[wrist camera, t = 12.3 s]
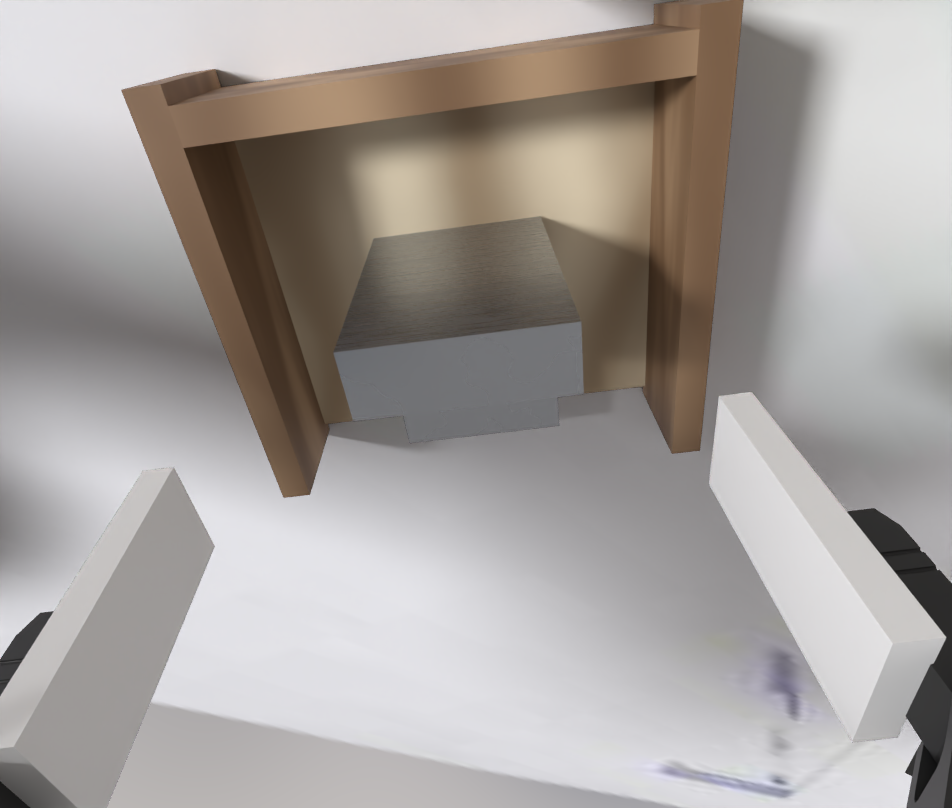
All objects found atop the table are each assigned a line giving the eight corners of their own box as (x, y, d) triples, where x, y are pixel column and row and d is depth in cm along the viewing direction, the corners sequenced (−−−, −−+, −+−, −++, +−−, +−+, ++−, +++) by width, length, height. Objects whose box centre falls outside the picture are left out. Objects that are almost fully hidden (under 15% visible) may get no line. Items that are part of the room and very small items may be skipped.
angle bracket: (373, 238, 26) (333, 352, 17) (540, 216, 25) (581, 321, 17) (412, 414, 31) (395, 569, 22) (552, 397, 30) (589, 548, 22)
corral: (306, 431, 31) (283, 497, 27) (183, 73, 22) (121, 89, 18) (666, 389, 31) (699, 450, 26) (688, -1, 22) (743, -2, 17)
